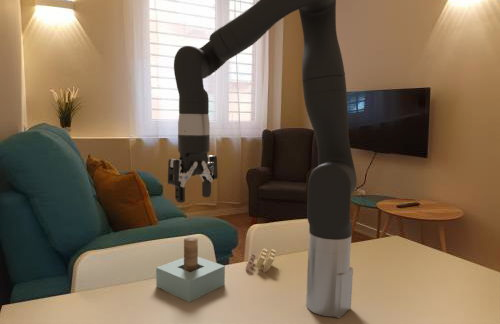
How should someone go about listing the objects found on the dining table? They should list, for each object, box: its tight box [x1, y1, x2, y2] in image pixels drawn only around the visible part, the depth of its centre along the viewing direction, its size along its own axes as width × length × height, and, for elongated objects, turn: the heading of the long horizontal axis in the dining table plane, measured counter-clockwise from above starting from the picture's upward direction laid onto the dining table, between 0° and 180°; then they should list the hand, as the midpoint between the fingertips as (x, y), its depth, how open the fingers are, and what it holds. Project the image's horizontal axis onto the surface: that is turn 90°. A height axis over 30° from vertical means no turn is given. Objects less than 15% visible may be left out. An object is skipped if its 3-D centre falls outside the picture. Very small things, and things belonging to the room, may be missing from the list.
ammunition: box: [245, 248, 277, 273], centre depth 107 cm, size 5×7×8 cm
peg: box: [183, 237, 199, 272], centre depth 94 cm, size 3×3×12 cm
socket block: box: [155, 256, 226, 303], centre depth 95 cm, size 12×12×5 cm
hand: (193, 199), depth 93 cm, fingers open, 8 cm apart
